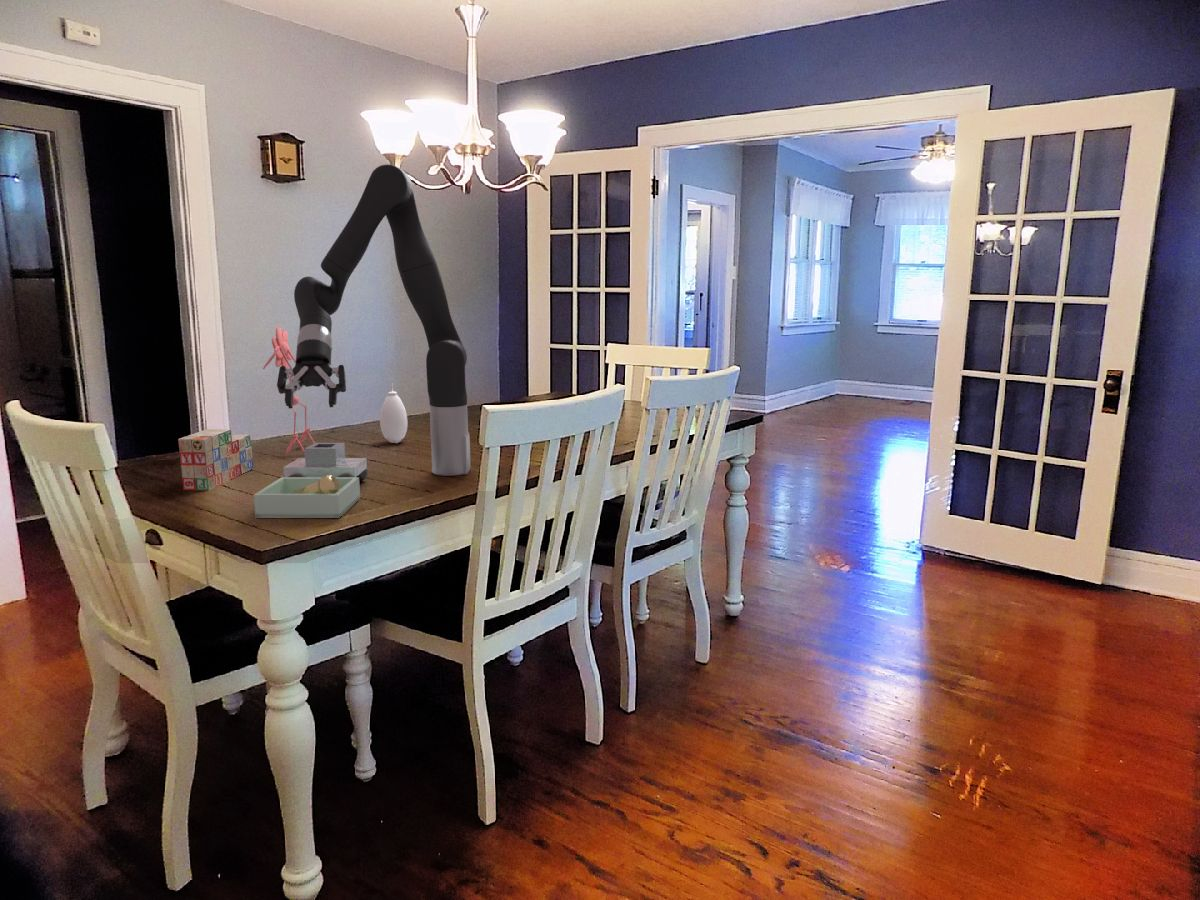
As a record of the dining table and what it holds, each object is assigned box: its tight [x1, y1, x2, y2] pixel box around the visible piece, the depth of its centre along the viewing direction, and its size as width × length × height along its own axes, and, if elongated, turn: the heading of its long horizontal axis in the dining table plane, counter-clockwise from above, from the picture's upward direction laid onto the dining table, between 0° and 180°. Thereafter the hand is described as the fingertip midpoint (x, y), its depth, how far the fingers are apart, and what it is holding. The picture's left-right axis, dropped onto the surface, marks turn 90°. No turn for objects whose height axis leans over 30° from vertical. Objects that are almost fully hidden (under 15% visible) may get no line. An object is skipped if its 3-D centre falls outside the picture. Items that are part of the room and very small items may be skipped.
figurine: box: [262, 326, 316, 456], centre depth 226 cm, size 15×26×35 cm, turn 0°
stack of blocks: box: [177, 428, 254, 491], centre depth 196 cm, size 21×6×12 cm, turn 176°
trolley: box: [282, 442, 369, 483], centre depth 188 cm, size 16×13×10 cm
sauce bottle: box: [379, 383, 408, 444], centre depth 240 cm, size 8×8×18 cm
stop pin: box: [293, 475, 339, 494], centre depth 169 cm, size 4×4×12 cm
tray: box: [253, 476, 361, 519], centre depth 171 cm, size 17×15×5 cm
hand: (310, 405), depth 177 cm, fingers open, 8 cm apart
